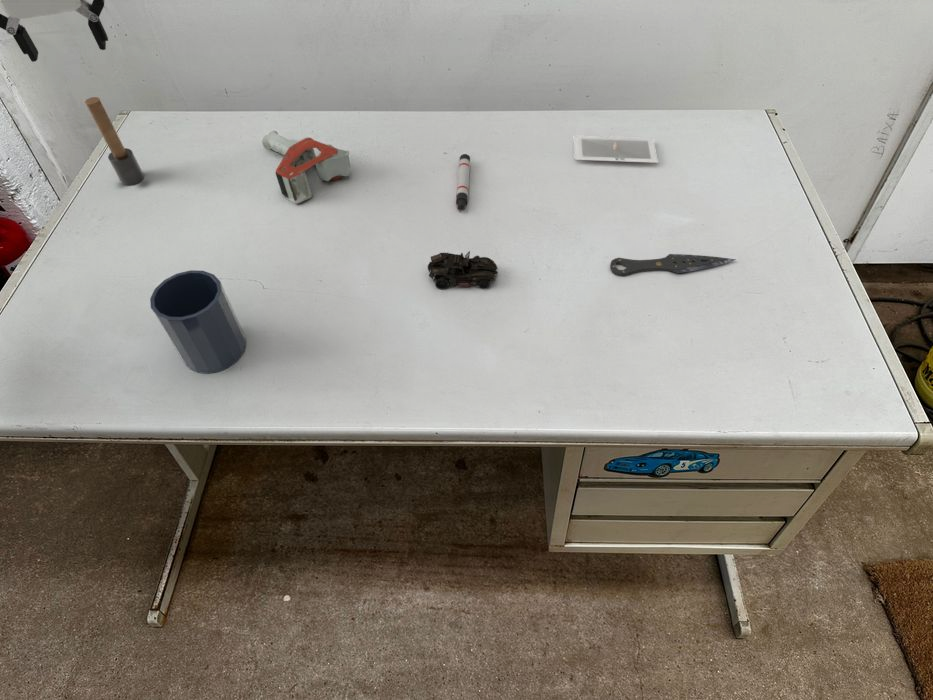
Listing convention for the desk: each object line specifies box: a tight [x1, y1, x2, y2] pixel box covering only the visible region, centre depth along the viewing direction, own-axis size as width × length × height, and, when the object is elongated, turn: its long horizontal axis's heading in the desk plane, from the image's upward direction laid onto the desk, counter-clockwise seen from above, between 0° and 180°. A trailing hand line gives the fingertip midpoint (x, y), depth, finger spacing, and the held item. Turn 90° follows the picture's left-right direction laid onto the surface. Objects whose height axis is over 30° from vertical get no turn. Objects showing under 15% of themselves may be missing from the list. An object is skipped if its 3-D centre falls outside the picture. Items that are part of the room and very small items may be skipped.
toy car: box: [427, 250, 498, 290], centre depth 92 cm, size 6×12×4 cm, turn 85°
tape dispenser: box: [261, 130, 351, 205], centre depth 109 cm, size 18×5×20 cm
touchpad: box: [572, 134, 659, 164], centre depth 113 cm, size 8×15×2 cm, turn 86°
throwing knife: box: [609, 253, 737, 277], centre depth 94 cm, size 4×20×1 cm, turn 95°
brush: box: [84, 96, 145, 186], centre depth 104 cm, size 4×4×15 cm
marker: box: [455, 153, 471, 213], centre depth 107 cm, size 15×2×2 cm, turn 178°
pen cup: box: [149, 269, 247, 374], centre depth 81 cm, size 9×9×11 cm
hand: (69, 51), depth 92 cm, fingers open, 9 cm apart
